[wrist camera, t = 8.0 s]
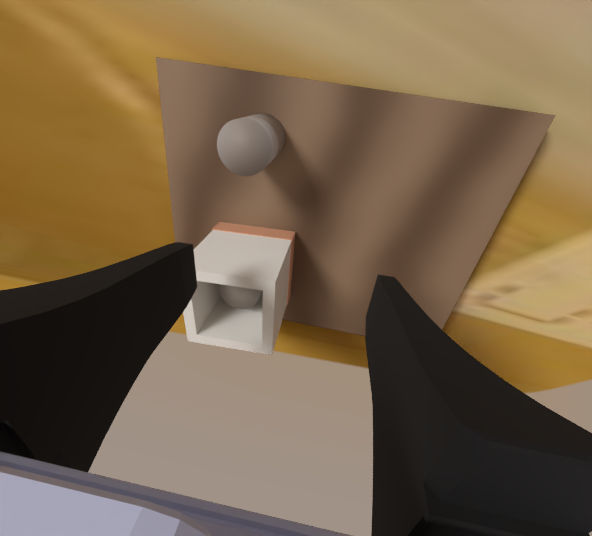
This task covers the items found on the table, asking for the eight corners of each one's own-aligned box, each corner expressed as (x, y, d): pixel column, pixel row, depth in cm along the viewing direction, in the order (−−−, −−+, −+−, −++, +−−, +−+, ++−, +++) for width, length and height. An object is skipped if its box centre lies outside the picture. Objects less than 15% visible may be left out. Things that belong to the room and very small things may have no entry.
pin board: (541, 114, 15) (622, 122, 10) (427, 338, 23) (446, 395, 19) (168, 59, 16) (100, 46, 12) (188, 290, 25) (153, 334, 20)
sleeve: (295, 231, 19) (276, 281, 14) (290, 294, 22) (273, 356, 17) (219, 221, 19) (174, 266, 14) (224, 284, 22) (186, 341, 17)
